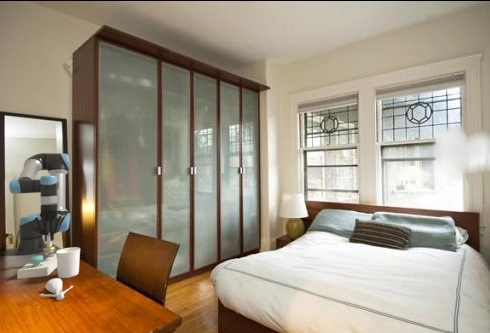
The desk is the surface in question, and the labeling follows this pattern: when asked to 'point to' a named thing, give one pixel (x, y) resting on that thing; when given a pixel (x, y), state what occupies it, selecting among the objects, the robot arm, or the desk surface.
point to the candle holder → (68, 262)
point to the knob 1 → (36, 260)
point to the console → (38, 269)
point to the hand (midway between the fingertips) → (49, 246)
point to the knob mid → (44, 255)
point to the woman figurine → (55, 288)
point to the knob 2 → (50, 250)
